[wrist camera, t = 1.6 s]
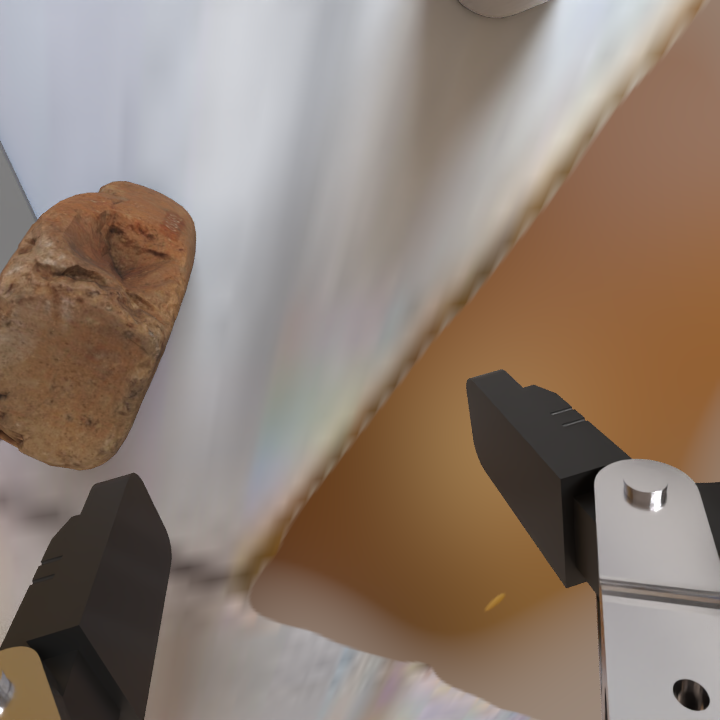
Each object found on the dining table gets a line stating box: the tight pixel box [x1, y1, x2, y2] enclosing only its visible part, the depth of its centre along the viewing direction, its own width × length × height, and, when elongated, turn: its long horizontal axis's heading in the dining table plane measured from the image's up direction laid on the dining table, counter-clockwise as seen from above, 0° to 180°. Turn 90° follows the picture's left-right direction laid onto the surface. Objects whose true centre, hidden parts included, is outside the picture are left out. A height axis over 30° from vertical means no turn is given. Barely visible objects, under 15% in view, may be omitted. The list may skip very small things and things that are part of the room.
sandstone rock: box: [0, 181, 196, 470], centre depth 30 cm, size 11×8×20 cm
